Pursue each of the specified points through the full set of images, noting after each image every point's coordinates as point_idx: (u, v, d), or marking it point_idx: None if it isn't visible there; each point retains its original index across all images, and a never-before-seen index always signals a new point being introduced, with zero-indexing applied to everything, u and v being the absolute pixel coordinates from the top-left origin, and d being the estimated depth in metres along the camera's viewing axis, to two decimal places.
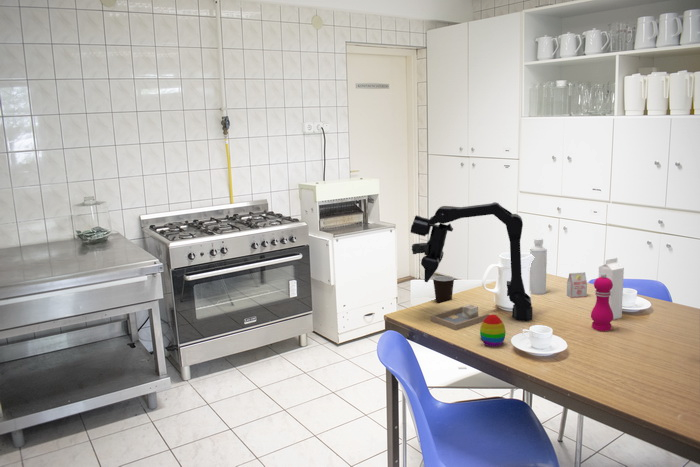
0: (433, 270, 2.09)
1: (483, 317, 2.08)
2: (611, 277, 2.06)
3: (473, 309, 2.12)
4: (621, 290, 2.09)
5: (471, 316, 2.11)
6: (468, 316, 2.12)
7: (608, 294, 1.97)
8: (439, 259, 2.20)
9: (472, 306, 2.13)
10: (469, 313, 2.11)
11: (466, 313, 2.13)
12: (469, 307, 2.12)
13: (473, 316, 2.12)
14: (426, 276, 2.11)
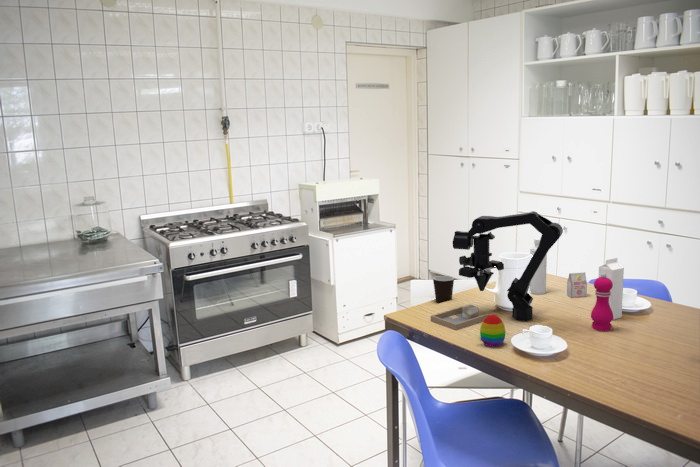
0: (481, 278, 2.12)
1: (483, 317, 2.08)
2: (611, 277, 2.06)
3: (473, 309, 2.12)
4: (621, 290, 2.09)
5: (471, 316, 2.11)
6: (468, 316, 2.12)
7: (608, 294, 1.97)
8: (489, 273, 2.13)
9: (472, 306, 2.13)
10: (469, 313, 2.11)
11: (466, 313, 2.13)
12: (469, 307, 2.12)
13: (473, 316, 2.12)
14: (479, 285, 2.15)
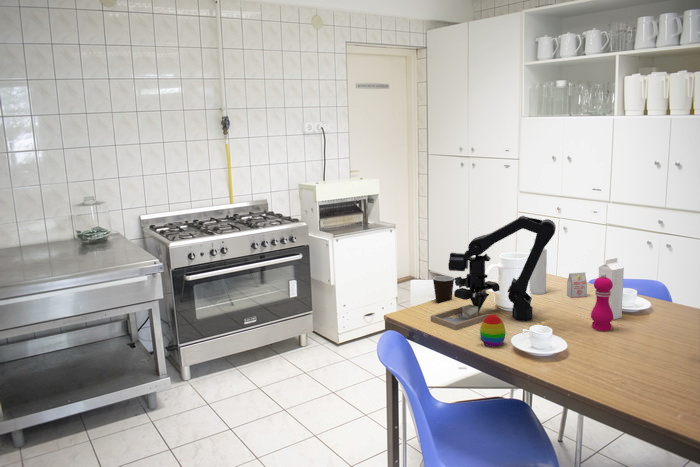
0: (477, 300, 2.12)
1: (483, 317, 2.08)
2: (611, 277, 2.06)
3: (473, 309, 2.11)
4: (621, 290, 2.09)
5: (471, 316, 2.11)
6: (468, 316, 2.12)
7: (608, 294, 1.97)
8: (484, 294, 2.14)
9: (472, 306, 2.13)
10: (469, 313, 2.11)
11: (466, 313, 2.13)
12: (469, 307, 2.12)
13: (473, 316, 2.12)
14: None
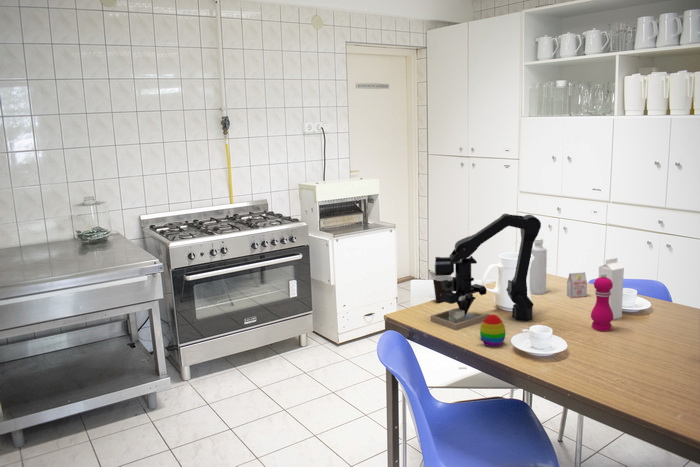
0: (463, 303, 2.08)
1: (483, 317, 2.08)
2: (611, 277, 2.06)
3: (459, 313, 2.08)
4: (621, 290, 2.09)
5: (457, 320, 2.07)
6: (454, 320, 2.08)
7: (608, 294, 1.97)
8: (470, 298, 2.10)
9: (458, 310, 2.10)
10: (455, 317, 2.07)
11: (452, 317, 2.09)
12: (455, 311, 2.09)
13: (459, 320, 2.08)
14: None
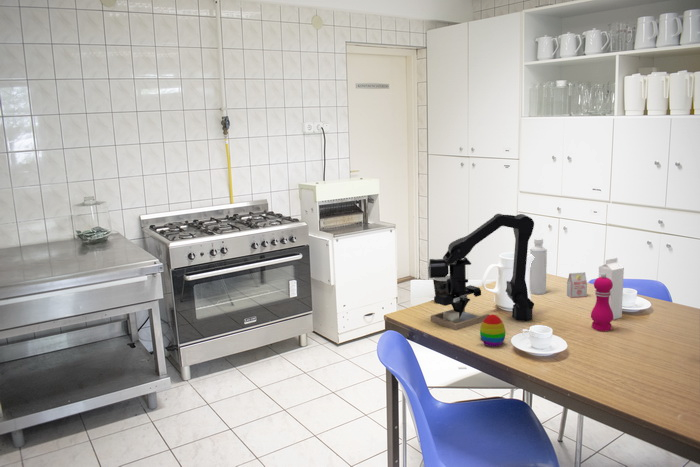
0: (457, 305, 2.07)
1: (483, 317, 2.08)
2: (611, 277, 2.06)
3: (454, 315, 2.06)
4: (621, 290, 2.09)
5: None
6: None
7: (608, 294, 1.97)
8: (465, 300, 2.08)
9: (453, 312, 2.08)
10: (450, 319, 2.06)
11: (447, 319, 2.07)
12: (450, 313, 2.07)
13: (454, 322, 2.06)
14: None
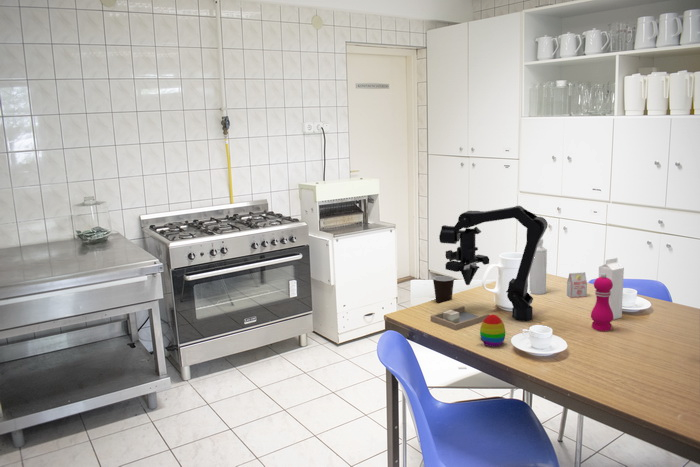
0: (467, 272, 2.15)
1: (483, 317, 2.08)
2: (611, 277, 2.06)
3: (454, 315, 2.06)
4: (621, 290, 2.09)
5: None
6: None
7: (608, 294, 1.97)
8: (474, 267, 2.16)
9: (453, 312, 2.08)
10: (450, 319, 2.06)
11: (447, 319, 2.07)
12: (450, 313, 2.07)
13: (454, 322, 2.06)
14: (465, 279, 2.17)
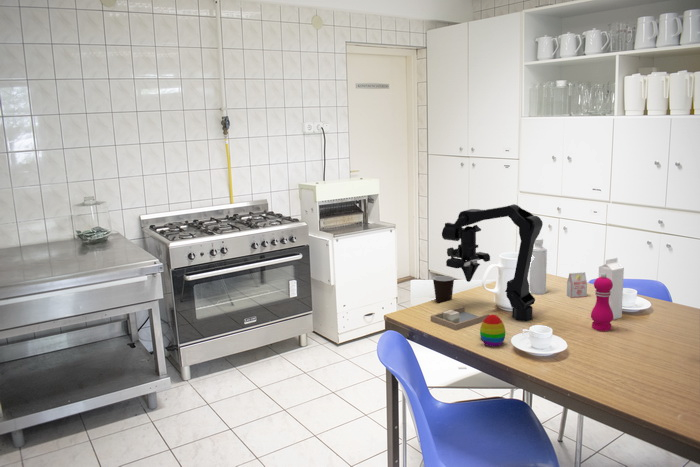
0: (468, 269, 2.20)
1: (483, 317, 2.08)
2: (611, 277, 2.06)
3: (454, 315, 2.06)
4: (621, 290, 2.09)
5: None
6: None
7: (608, 294, 1.97)
8: (475, 264, 2.21)
9: (453, 312, 2.08)
10: (450, 319, 2.06)
11: (447, 319, 2.07)
12: (450, 313, 2.07)
13: (454, 322, 2.06)
14: (466, 276, 2.23)
